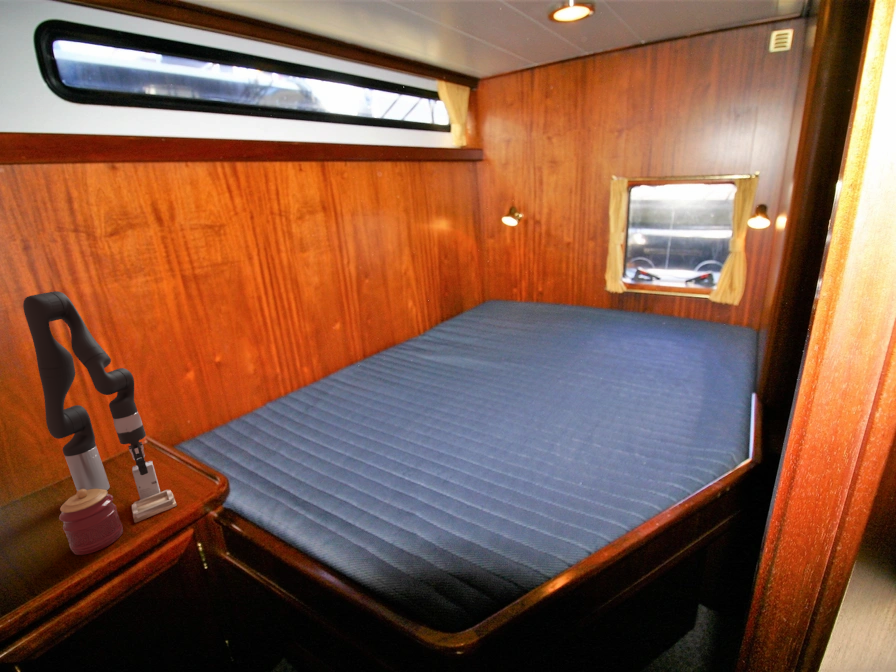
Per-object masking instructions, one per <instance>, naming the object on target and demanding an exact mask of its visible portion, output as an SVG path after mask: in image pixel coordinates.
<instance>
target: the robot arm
mask: <svg viewBox="0 0 896 672" xmlns="http://www.w3.org/2000/svg"><path fill="white" fill-rule="evenodd" d="M22 307H23V312H24V313H23V314H24V316H25V320H26V323H27V326H28V328H29V331H30V335H31V339H32V341H33V342H32V343H33V346H34V352H35V356H36V362H37V368H38V373H39V378H40V381H41V386H42V391H43V399H44V408H45V409H44V411H45V421H46V423H45V424H46V427H47V429H48V432H49V433H50V434H49V435H51V437H53V438H54V439H57V440H59V439H60V440H61V439H65V438H67V437H70V436H72V435H73V436H72V437H71V438H70V440H68V442H67V443H66V444H64V445H63V447H62V453H63V455H64V456H63V457H64V458H65V461H66V464H67V466H68V469H69V473H70V475H71V477H72V478H71V479H72V480H73V483H74V486H75V490H76V492H77V491H78V490H80V489H86V490H89V489H105V490H107V491H108V490H109V489H110V487H111V486H110V483H109V479H108V476H107V473H106V470H105V467H104V465H103V462H102V459H101V456H100V452H99V450H98V448H97V447H98V446H97V444H96V436H95V432H94V428H93V425H92V420H91V417H90V414H89V412H88V411H87V409H86V408H85V407H84V406H82V405H78V404H77V405H72V406H70V407H66V408H65V406H64V405H65V400H66V397H67V394H68V393H69V390H70V389H71V387H72V385H73V383H74V380H75V378H76V377H75V376H76V367H75V363H74V362H75V361H74V357H73V355H72V353H73V354H74V356H75V357H76V358H77V359H78V361H79V362H80V363H81V364H82V365H83V366H84V367H85V369H86V370H87V372H88V375H89V377H90V379H91V381H92V384H93V386H94V388H95V390H96V391H97V392H98V393H100V394H102V395H105V396H110V395H113V394H115V393H116V396H115V398H114V399H112V400H111V401H110V402H109V403H108V406H109V411H110V413H111V416H112V419H113V420H112V421H113V426H114V428H115V432H116V435H117V437H118V440H119V443H120V444H121V445H128V450H129V453H130V454H131V456H132V459H133V460H134V461H135V466H136V465H137V466H138V469H139V472H140V475H145V474H147V473H148V470H147V467H146V464H145V463H146V462H147V461H146V460H145V456H146V454H145V451H144V444H143V442H142V441H140V440H143V439H144V438H145V437H146V436H147V434H146V430H145V426H144V424H143V421H142V417H141V415H140V413H139V411H138V408H137V405H136V402H135V379H134V376H133V374H132V372H131V371H130V370H128V369H127V368H124V367H120V368H117V369H113V370H110V371H108V372H107V371H106V370H105V368H107V367H108V366H109V365H111V362H112V358H111V357H110V356H109V355H108V353H107V352H106V351H105V350H104V348H103V347H102V346H101V345H100V344H99V343H98V341H96V339H95V338H94V336H93V335H92V333H91V332H90V330H89V329H88V327H87V324H86V323H85V321H84V320H83V318H82V316H81V315H80V313H79V311H78V310H77V308H76V307H75V305H74V303H73V302H72V301H71V299H70V298H69V297H68V296H67V295H66V294H65V293H64V292H62V291H57V290H56V291H49V292H45V293H44V292H42V293H39V294H38V293H37V294H33V295H28V296H26V297H25V298H24V300H23V305H22ZM58 320H62V321H63V322H64V323H66V325H67V327H68V328H69V330H70V338H71V339H70V342H71V349H72V353H71V352H70V351H69V350H68V349H67V348H66V347H64V346H63V345H62V344H61V343H60V342H59V341H57V340H56V338H55V337H54V336H53V334H52V331H51V328H50V323H51V322H54V321H58Z"/></svg>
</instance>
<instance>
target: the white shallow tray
mask: <svg viewBox="0 0 896 672" xmlns="http://www.w3.org/2000/svg"><path fill="white" fill-rule="evenodd" d="M177 506H178V504H177V502H176V499H175V495H174V494H173V492H172V491H171V489H165V490H163V491H160V493H157V494H155V495H152V496H149V497H147V498H144V499H142V500H140V499H138V500H137V501H134V502H133V504H131V512H132V517H133V522H134V523H135V524H136V523H138V522H140V521H144V520H146V519H147V518H150V517H153V516H155V515H157V514H160V513H163V512H165V511H168V510H170V509H173V508H174V507H177Z"/></svg>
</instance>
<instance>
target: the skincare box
mask: <svg viewBox="0 0 896 672" xmlns="http://www.w3.org/2000/svg"><path fill="white" fill-rule="evenodd" d="M145 464H146V467H147V470H148V473H147V474H145V475H140V472H139V469H138V466H137V465H136V464H135V465H134V466H132V468H131V469H132V470H131V471H132V475H133V479H134V482H135V485H136V489H137V492H138V496H139V500H142V499H144V498H147V497H149V496H152V495H155V494H157V493H160V492H161V489H160V485H159V481H158V477H157V474H156V470H155V465H154V464H153V460H149V461H146V462H145Z"/></svg>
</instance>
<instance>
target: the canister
mask: <svg viewBox="0 0 896 672" xmlns="http://www.w3.org/2000/svg"><path fill="white" fill-rule="evenodd" d="M108 492H109V491H108V490H105V489H89V490H86V489H80V490H78V491H77V490H76V494H74V495H72V496H70V497H69V498H68V499H66V500H65V502H64V503H63V504H62V505H61V506H60V508H59V510H60V512H61V513H60V515H59V517H58V519H59V521H61V522H62V523H63V525H62V529H63V531H64V533H65V535H66V538H67V541H68V544H69V545H68V546H69V548H70V550H71V552H72V553H73V554H74V555H77V556H82V555H88V554H89V555H90V554H93V553H95V552H98V551H100V550H103V549H105V548H107V547H108V546H110V545H112V544H113V543H115V542H116V541H118V539H119V538H120V537H121V536H122V534H123V533H124V529H123V526H124V525H123V523H122V521H121V520H120V519H121V518H120V516H119V513H118V510H117V505H116V504H114V503H113V501H114V496H113V495H112V494H109V493H108Z"/></svg>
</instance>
